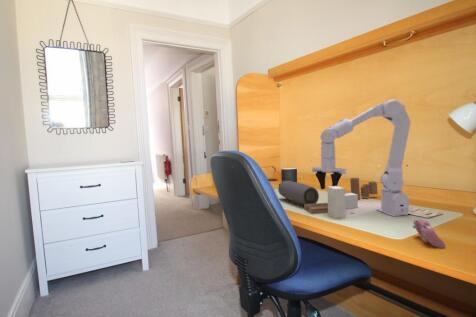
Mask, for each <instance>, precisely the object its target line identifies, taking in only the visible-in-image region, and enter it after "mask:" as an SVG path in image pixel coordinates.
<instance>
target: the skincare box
mask: <svg viewBox="0 0 476 317" xmlns="http://www.w3.org/2000/svg"><path fill="white" fill-rule="evenodd" d="M345 194H346V188H345V187H341V186H339V185H337V186H332V185H329V186H327V203H328V213H327V215H328V216H329V217H330V218H333V219H335V220H340V219H346V214H345V213H346V209H345Z"/></svg>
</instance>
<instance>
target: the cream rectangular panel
mask: <svg viewBox="0 0 476 317" xmlns="http://www.w3.org/2000/svg"><path fill="white" fill-rule="evenodd" d="M355 214H356V213H354V212H352V211H350V212H349V211H348V212H345V215H355Z"/></svg>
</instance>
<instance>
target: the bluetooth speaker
mask: <svg viewBox="0 0 476 317" xmlns="http://www.w3.org/2000/svg"><path fill="white" fill-rule="evenodd" d="M277 189H278V193H279V195H280V196H282V197H283V198H285V199H287V200H289V202H291V203H293V204H296V205H300V206H304V205H305V204H317V203H318V201H319V198H320V197H319V196H320V194H319V191H318V190H317V189H316V188H315V187H314V186H313V187H312V186H310V185H307V184H304V183H300V182H295V181H290V180H283V181H281V182H280V183H279V185H278V188H277Z"/></svg>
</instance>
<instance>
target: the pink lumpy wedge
mask: <svg viewBox="0 0 476 317" xmlns="http://www.w3.org/2000/svg"><path fill="white" fill-rule="evenodd" d="M412 228H413V229H414V230H416V232H417V234H418V236H419V238H420V239H421V240H422V241H423V242H424V243H425V244H431V245H432V246H433V247H434V248H438V249H445V248H446V243H445V242H444V241H443V240H442V239H441V237H440V236H439V235H438V234H437V233H436V231H435V230H434V228H433V227H432V225H431V223H430V222H429V221H427V220H424V219H416V220H413V225H412Z"/></svg>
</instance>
